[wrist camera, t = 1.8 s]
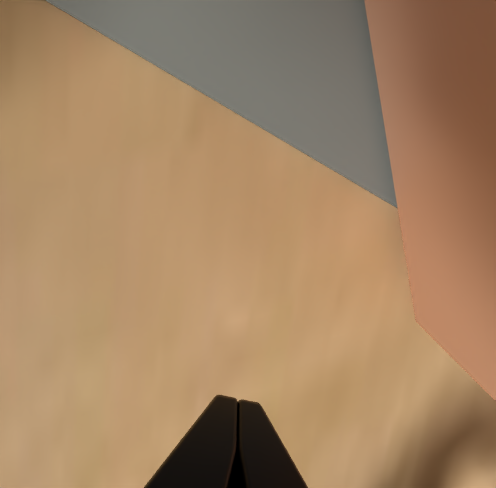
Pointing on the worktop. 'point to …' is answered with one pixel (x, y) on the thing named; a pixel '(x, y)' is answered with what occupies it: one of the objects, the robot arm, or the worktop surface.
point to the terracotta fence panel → (444, 164)
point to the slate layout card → (268, 69)
